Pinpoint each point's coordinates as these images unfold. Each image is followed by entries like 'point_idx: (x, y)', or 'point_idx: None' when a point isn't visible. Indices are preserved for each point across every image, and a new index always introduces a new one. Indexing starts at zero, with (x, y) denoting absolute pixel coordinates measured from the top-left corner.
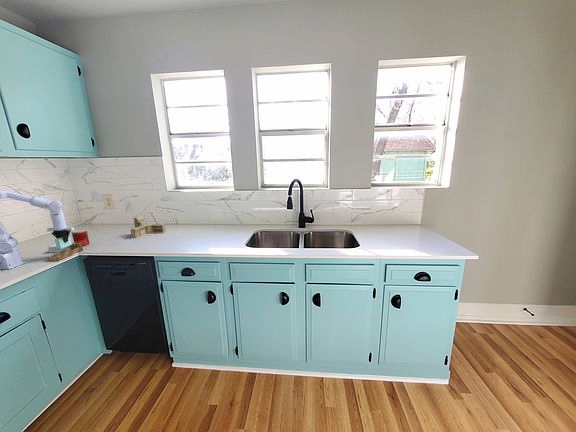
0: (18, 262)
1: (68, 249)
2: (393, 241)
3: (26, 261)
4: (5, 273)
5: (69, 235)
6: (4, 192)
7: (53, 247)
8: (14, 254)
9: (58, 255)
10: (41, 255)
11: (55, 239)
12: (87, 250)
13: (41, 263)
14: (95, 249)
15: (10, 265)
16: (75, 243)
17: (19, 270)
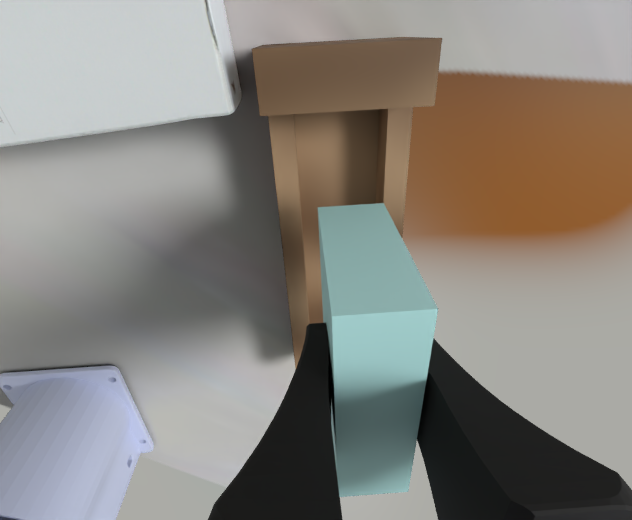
0: (121, 426)
1: (296, 172)
2: None
3: (107, 370)
4: (204, 476)
5: (436, 318)
6: None
7: (6, 145)
8: (87, 512)
9: (307, 297)
10: (3, 214)
11: (350, 494)
12: (475, 52)
13: (271, 376)
14: (577, 9)
15: (128, 454)
16: (331, 60)
17: (243, 452)
